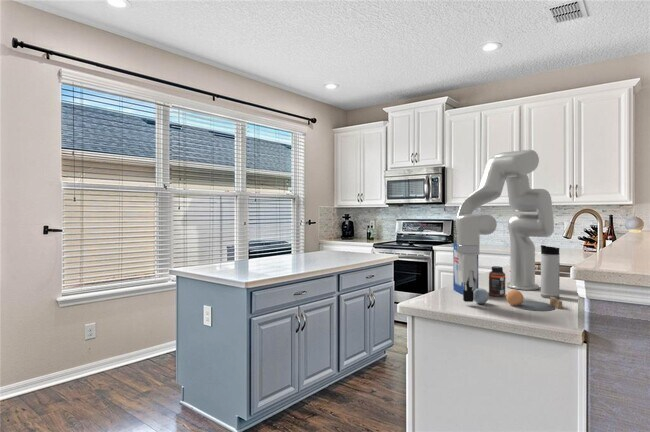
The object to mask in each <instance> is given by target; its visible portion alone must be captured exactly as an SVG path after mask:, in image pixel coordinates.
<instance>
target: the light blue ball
mask: <svg viewBox="0 0 650 432" xmlns="http://www.w3.org/2000/svg"><path fill="white" fill-rule="evenodd" d="M489 295H490V294H489V292H488V291H487V290H486V289H484V288H480V287H478V289H476V290H474V292H473V302H475V303H477V304H481V305H483V304H486V303H487V302H488V301H489Z"/></svg>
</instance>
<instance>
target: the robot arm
mask: <svg viewBox="0 0 650 432" xmlns="http://www.w3.org/2000/svg"><path fill="white" fill-rule="evenodd" d="M539 158H540V157H539V154H538V153H537V151H535V150H533V149H524V150H516V151H515V150H513V151H505V152H500V153H497V154H495V155H494V156H493V157H491V158H489V159H488V160H487V162H486V163H485V166H484V170H483V172H482V175H481V178H480V181H479V185H478V188H477V189H476V190H475V191H473V192H471V193H470V195H468V196H467V197H466V199H464V200H463V202H461V204H460V205H459V208H458V212H457V215H456V217H455V225H454V226H455V228H456V237H457V238H456V243H457V254H459V265H458V279H459V280H460V281H461V282H463V289H465V290H463V294H462V297H463V298H462V300H463V302H466V303H468V302H469V303H473V302H474V299H473V286H474V283H476V282H477V255H478V256H479V255H480V253H481V252H480V243H481V242H480V236H487V235H488V236H489V235H491V234H493V233H494V232H495V231H496V229H497V225H498V224H497V220H496V218H495V217H494V216H493V215H491V214H485V213H483V214H482V213H480V214H479V213H474V211H475V210H476V209H478V208H480V207H481V206H483V205H486V204H489V203H491V202H493V201H494V200H497V199H498V198H500V197H501V195H502V192H503V189H504V185H505V182H506V188H507V189H506V190H507V197H508V205H509V207H510V209H511V210H512V211H513V212H517V214H513V215H511V216H510V217H509V218H508V220H507V228H508V229H507V230H508V233H509V243H510V245H509V247H510V248H509V249H510V254H509V255H510V256H509V257H510V259H509V260H510V261H509V262H510V263H509V264H510V266H509V269H510V279H509V280H510V281H509V282H506V284H505V287H506V288H507V287H508V288H510V289H512V290H525V291H534V290H538V289H540V285H538V284H536V248H535V244H534V242H533V241H532V239H531V238H530V237H534V238H535V237H536V238H549V237H551V236H552V235H553V233H554V231H555V229H554V228H555V223H554V209H553V201H552V196H551V194H550V192H549V191H548V190H547V189H544V188H531V186H530V179H529V176H528V175H529V174H530V173H532V172H534V171H535V170H536V169H537V168H538V166H539V163H540V159H539ZM518 212H521V213H518Z"/></svg>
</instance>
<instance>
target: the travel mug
mask: <svg viewBox="0 0 650 432" xmlns="http://www.w3.org/2000/svg"><path fill="white" fill-rule="evenodd" d="M560 261H561V259H560V247H556V246H555V247H554V246H549V245H547V246H546V245H544V244H543V245H542V244H541V245H540V297H542V298H544V299H550V297H554V298H556V299H559V298H560V274H561V273H560V267H561V266H560Z"/></svg>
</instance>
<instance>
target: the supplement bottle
mask: <svg viewBox="0 0 650 432" xmlns="http://www.w3.org/2000/svg"><path fill="white" fill-rule="evenodd" d="M488 295H490V296H491V297H496V298H498V297H501V298H502V297H506V273H505V272H504V271H503V266H494V265H493V266H491V271H490V272H489V273H488Z"/></svg>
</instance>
